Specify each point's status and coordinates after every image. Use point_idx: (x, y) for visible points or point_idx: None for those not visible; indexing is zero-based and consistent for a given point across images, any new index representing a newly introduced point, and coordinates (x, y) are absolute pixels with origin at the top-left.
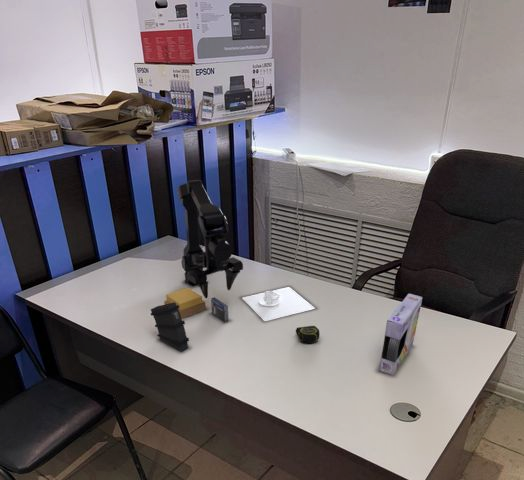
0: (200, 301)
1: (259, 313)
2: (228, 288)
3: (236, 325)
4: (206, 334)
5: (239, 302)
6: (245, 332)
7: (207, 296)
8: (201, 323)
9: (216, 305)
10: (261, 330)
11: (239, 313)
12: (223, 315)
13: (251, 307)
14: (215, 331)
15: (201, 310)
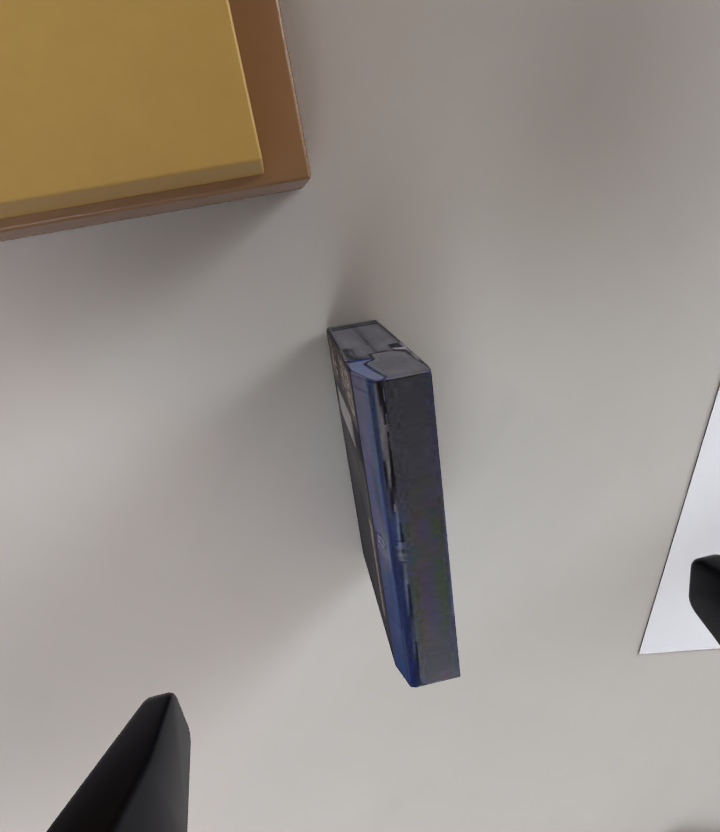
0: (223, 175)
1: (691, 535)
2: (717, 624)
3: None
4: (127, 668)
5: (704, 237)
6: (432, 735)
7: (186, 791)
8: (140, 475)
9: (368, 502)
10: (540, 744)
11: (563, 458)
12: (374, 584)
13: (716, 406)
14: (222, 652)
15: (232, 200)
